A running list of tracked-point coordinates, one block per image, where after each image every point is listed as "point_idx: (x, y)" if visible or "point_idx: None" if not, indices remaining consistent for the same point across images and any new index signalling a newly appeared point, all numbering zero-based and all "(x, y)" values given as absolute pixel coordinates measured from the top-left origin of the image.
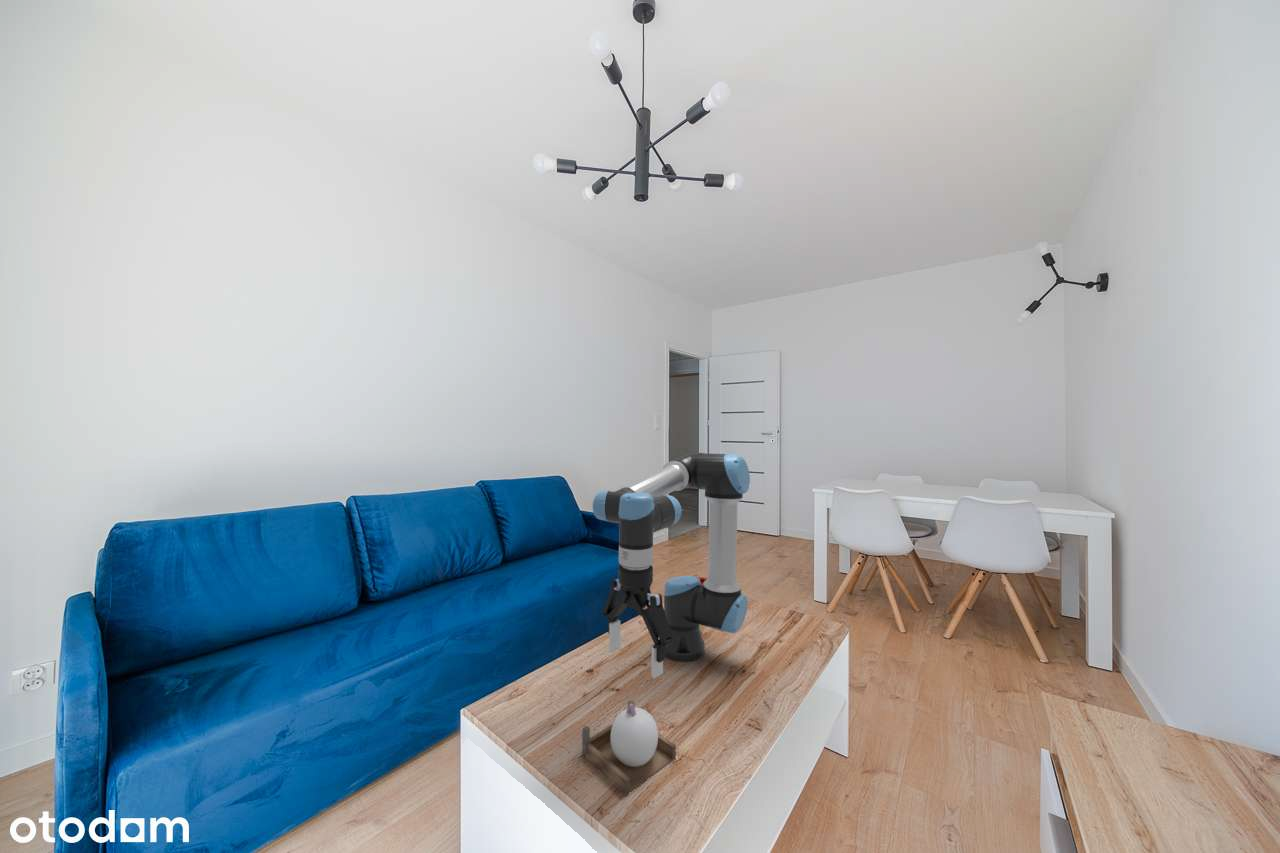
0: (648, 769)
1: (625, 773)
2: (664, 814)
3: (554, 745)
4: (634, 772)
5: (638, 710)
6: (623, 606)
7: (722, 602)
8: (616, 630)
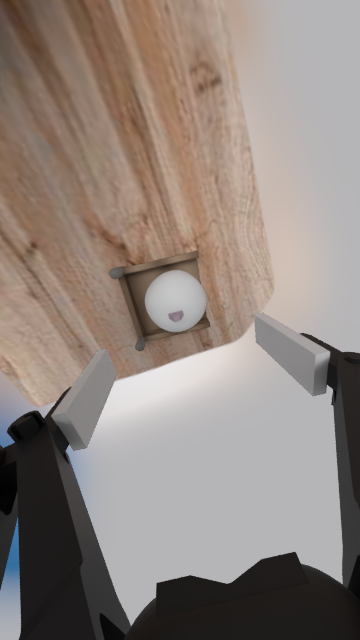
0: None
1: None
2: (240, 301)
3: (115, 354)
4: None
5: (175, 301)
6: (99, 564)
7: None
8: (90, 401)
